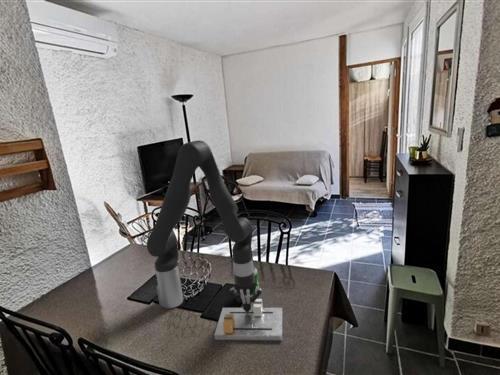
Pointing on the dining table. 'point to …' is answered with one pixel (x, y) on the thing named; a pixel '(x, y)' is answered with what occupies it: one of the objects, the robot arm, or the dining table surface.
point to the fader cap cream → (257, 307)
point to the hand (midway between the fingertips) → (247, 310)
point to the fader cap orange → (228, 323)
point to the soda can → (255, 280)
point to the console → (251, 325)
